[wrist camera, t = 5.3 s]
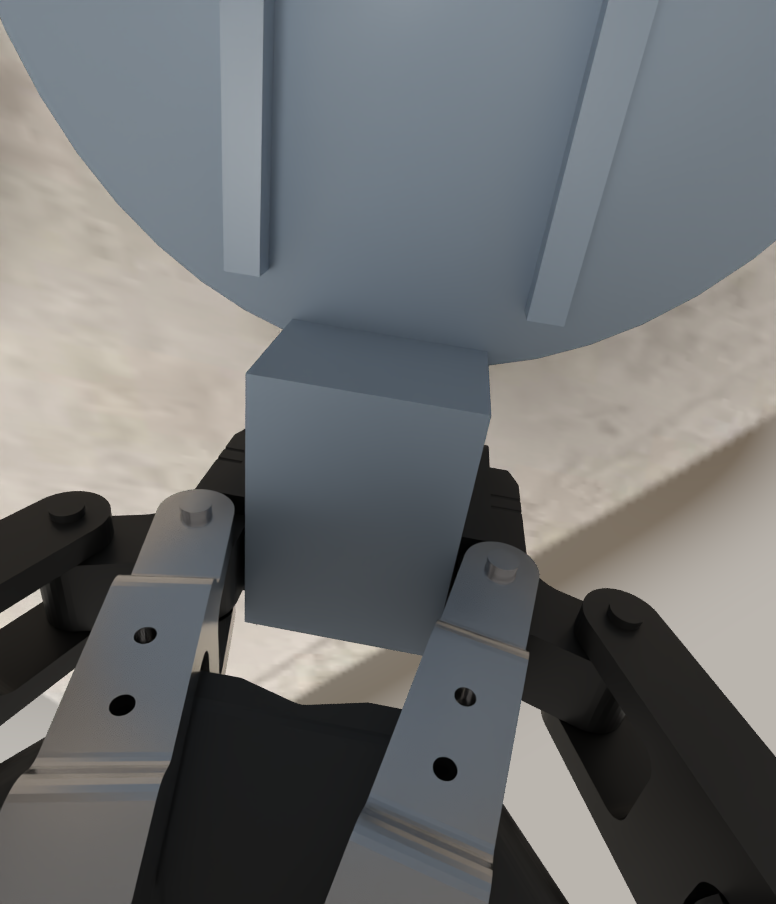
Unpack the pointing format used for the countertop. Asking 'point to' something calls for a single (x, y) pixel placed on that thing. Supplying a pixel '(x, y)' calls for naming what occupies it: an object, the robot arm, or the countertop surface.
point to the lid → (411, 230)
